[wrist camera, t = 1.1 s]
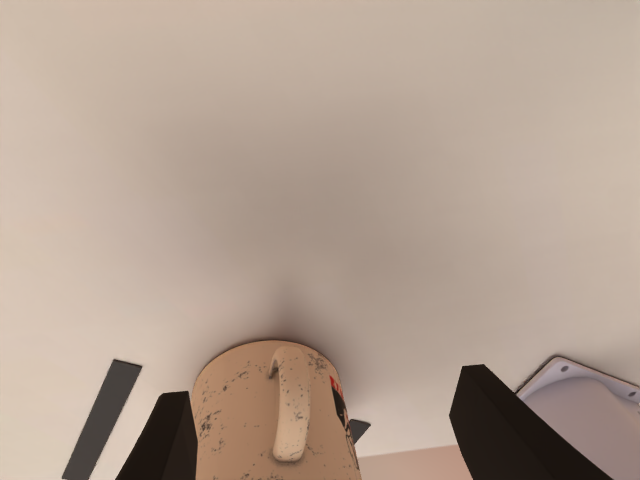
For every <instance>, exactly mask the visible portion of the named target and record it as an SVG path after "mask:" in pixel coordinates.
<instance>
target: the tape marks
mask: <svg viewBox="0 0 640 480" xmlns="http://www.w3.org/2000/svg"><path fill="white" fill-rule="evenodd" d="M141 369H142V367H141V366H137V365H133V364H129V363H125V362H121V361H117V360H113V362H112V364H111V367H110V369H109V371H108V374H107V376H106V378H105V380H104V383H103V385H102V387H101V390H100V392H99V394H98V396H97V399H96V401H95V403H94V406H93V408H92V410H91V412H90V415H89V417H88V419H87V422H86V424H85V426H84V428H83V431H82V433H81V435H80V438H79V440H78V442H77V444H76V447H75V449H74V451H73V454H72V456H71V458H70V460H69V463H68V465H67V467H66V470H65V472H64V474H63V476H62V479H66V480H88V479H89V477H90V475H91V473H92V471H93V468H94V466H95V464H96V462H97V460H98V458H99V456H100V454H101V452H102V450H103V448H104V446H105V444H106V441H107V439H108V437H109V435H110V433H111V431H112V429H113V427H114V425H115V423H116V421H117V419H118V417H119V414H120V412H121V410H122V408H123V406H124V404H125V402H126V400H127V398H128V396H129V394H130V392H131V390H132V387H133V385H134V383H135V381H136V379H137V377H138V375H139V373H140V371H141ZM349 424H350V429H351V433H352V438H353V442H354V444H355V443H356V442H357V441H358V439H359V438H360V437H361V436H362V435H363V434H364V433H365V431H366V430H367V429H368V428H369V427H370V426H371V425H370V424H368V423H364V422H360V421H356V420H352V419H351V421H350V422H349Z"/></svg>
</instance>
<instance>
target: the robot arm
mask: <svg viewBox="0 0 640 480" xmlns="http://www.w3.org/2000/svg"><path fill="white" fill-rule="evenodd" d="M639 403H640V388H639V387H636V386H634V385H631V384H628V383H626V382H623V381H621V380H618V379H616V378H613V377H611V376H608V375H605V374H603V373H600V372H598V371H595V370H593V369H590V368H587V367H585V366H582V365H580V364H577V363H575V362H572V361H569V360H567V359H564V358H562V357H556V358H554V359H552V360H551V361H550V362H549V363H548V364H547V365H546V366H545V367H544V368H543V369H542V370H541V371H539V372H538V373H537V374H536V375H535V376H534V377H533V378H532V379H531V380H530V381H529V382H528V383H527V384H526V385H525V386H524V387H523V388H522V389H521V390H520V391H519V392H518V393H517V394H515V393H514V392H512V391H511V390H510V389H509V388H508V387H507V386H506V385H505V384H504V383H503V382H502V381H501V380H500V379H499V378H498V377H497V376H496V375H495V374H494V373H493V372H492V371H490V370H489V369H488V368H487V367H486V366H485V365H484V364H480V365H469V366H462V369H461V373H460V377H459V381H458V384H457V388H456V392H455V395H454V399H453V403H452V406H451V410H450V414H449V417H450V420H451V424H452V427H453V430H454V433H455V436H456V439H457V442H458V445H459V448H460V451H461V454H462V456H463V458H464V461H465V463H466V465H467V467H468V469H469V471H470V474H471V476H472V478H473V480H640V406H639V405H638V404H639ZM197 452H198V439H197V434H196V429H195V424H194V418H193V413H192V408H191V403H190V398H189V393H188V391H182V392H171V393H163V394H161V395H160V396H159V398H158V400H157V402H156V404H155V407H154V409H153V411H152V413H151V415H150V417H149V419H148V421H147V423H146V425H145V427H144V429H143V431H142V433H141V435H140V437H139V438H138V440H137V442H136V444H135V446H134V448H133V450H132V451H131V453H130V455H129V457H128V458H127V460H126V462H125V463H124V465H123V467H122V469H121V470H120V472H119V474H118V476H117V477H116V479H115V480H196V468H197Z"/></svg>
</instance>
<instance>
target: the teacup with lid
mask: <svg viewBox="0 0 640 480" xmlns="http://www.w3.org/2000/svg"><path fill="white" fill-rule="evenodd" d="M191 408H192V413H193V418H194V424H195V429H196V434H197V439H198V452H197V468H196V480H362V479H361V474H360V469H359V465H358V460H357V456H356V451H355V447H354V442H353V438H352V433H351V429H350V424H349V420H348V415H347V411H346V406H345V402H344V397H343V393H342V388H341V384H340V379H339V377H338V374H337V372H336V370H335V368H334V367H333V365H332V364H331V363H330V362H329V361H328V360H327V359H326V358H325V357H324V356H323V355H321V354H320V353H319V352H317V351H315V350H313V349H311V348H309V347H307V346H304V345H301V344H298V343H293V342H288V341H278V340H269V341H258V342H253V343H248V344H244V345H241V346H238V347H235V348H233V349H231V350H229V351H227V352H225V353H223V354H221V355H220V356H218V357H217V358H215V359H214V360H213V361H211V362H210V363H209V364H208V365H207V366H206V367H205V368H204V370H203V371H202V372H201V373H200V375H199V377H198V378H197V380H196V382H195V385H194V388H193V392H192V399H191Z"/></svg>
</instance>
